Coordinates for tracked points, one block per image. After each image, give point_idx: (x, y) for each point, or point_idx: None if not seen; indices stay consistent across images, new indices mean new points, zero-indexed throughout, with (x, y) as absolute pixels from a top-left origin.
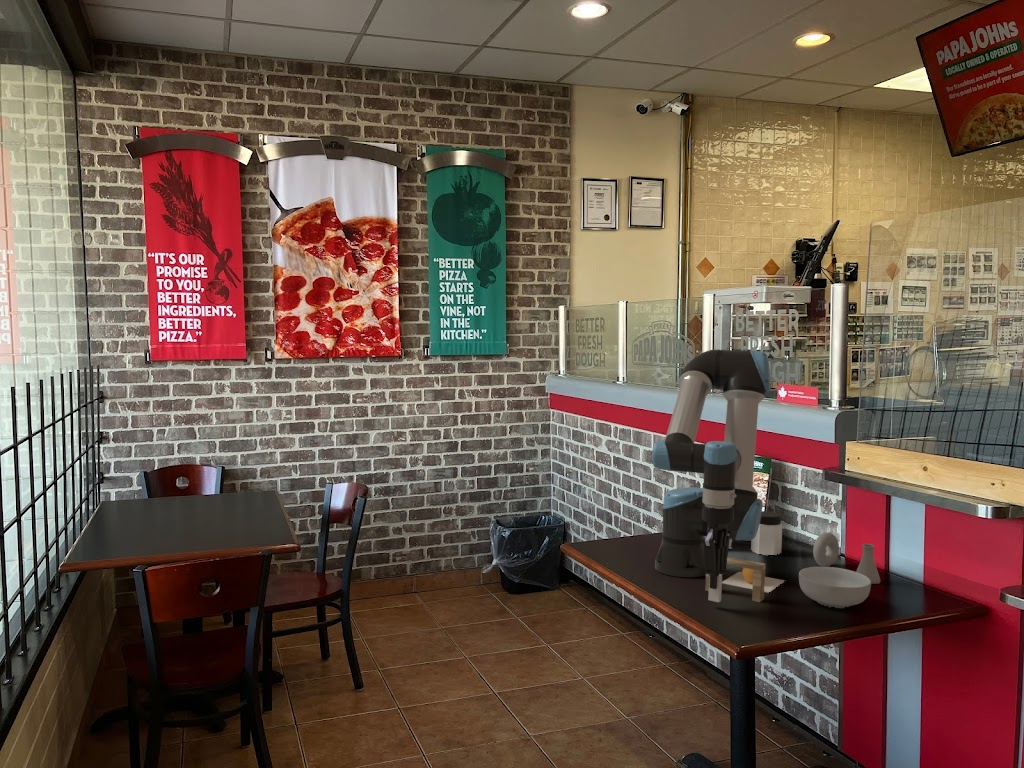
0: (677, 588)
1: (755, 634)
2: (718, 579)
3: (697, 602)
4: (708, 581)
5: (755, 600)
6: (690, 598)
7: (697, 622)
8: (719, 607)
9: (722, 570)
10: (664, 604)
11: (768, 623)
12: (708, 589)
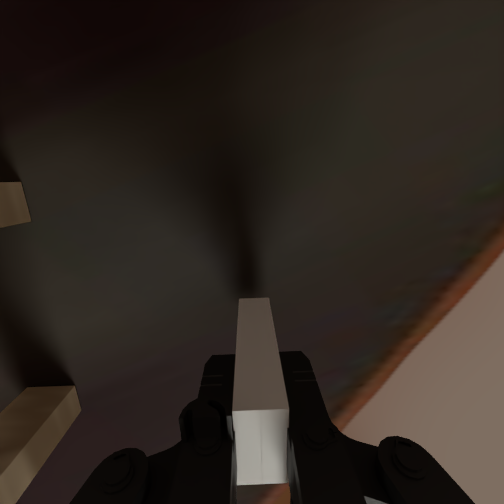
0: None
1: (496, 2)
2: (283, 391)
3: None
4: (49, 439)
5: (22, 205)
6: None
7: (461, 284)
8: (230, 292)
9: (215, 452)
10: None
11: (293, 9)
12: (73, 406)
